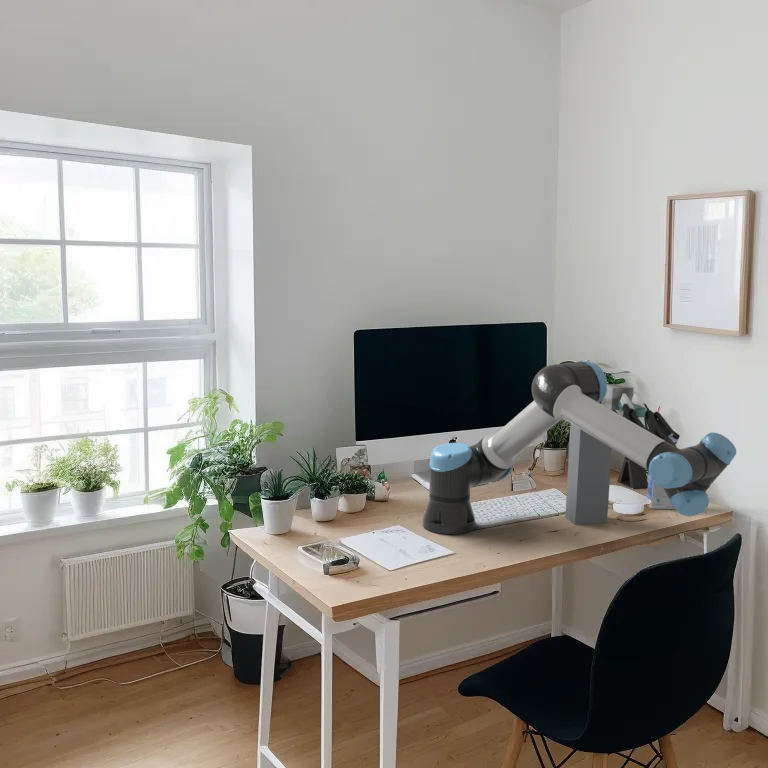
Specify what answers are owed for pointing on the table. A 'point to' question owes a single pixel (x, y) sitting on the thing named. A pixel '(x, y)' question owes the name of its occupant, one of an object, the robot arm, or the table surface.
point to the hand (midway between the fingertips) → (628, 397)
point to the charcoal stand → (587, 478)
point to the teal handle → (615, 396)
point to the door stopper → (632, 475)
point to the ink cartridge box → (657, 496)
